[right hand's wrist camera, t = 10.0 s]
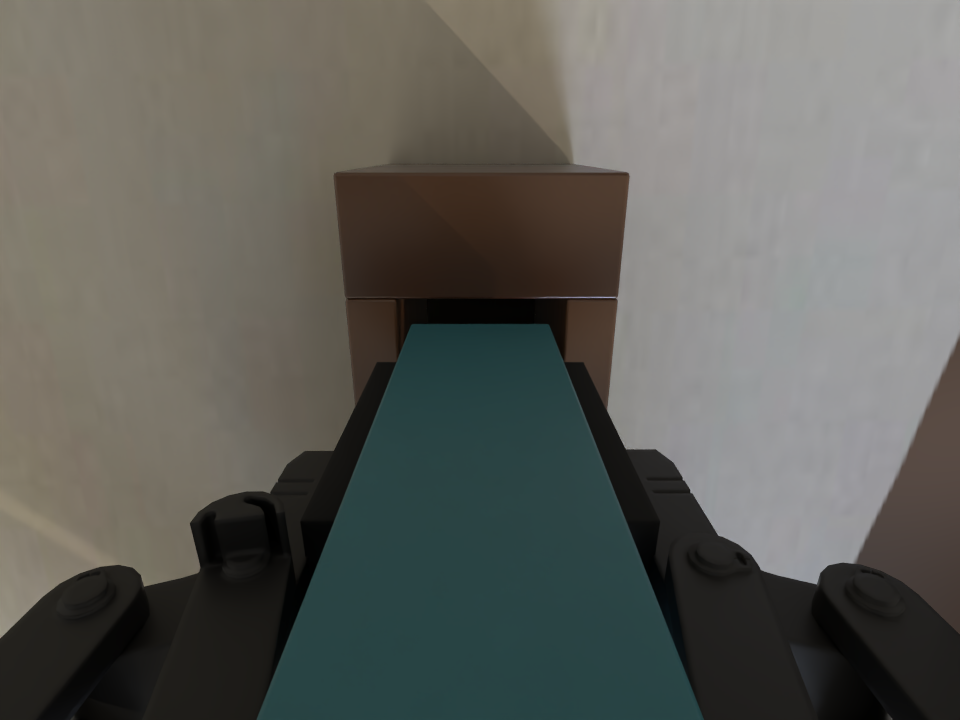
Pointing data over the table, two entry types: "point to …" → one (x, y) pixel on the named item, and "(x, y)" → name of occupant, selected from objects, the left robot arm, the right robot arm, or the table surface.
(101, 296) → the table surface
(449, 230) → the hole block
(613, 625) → the peg
